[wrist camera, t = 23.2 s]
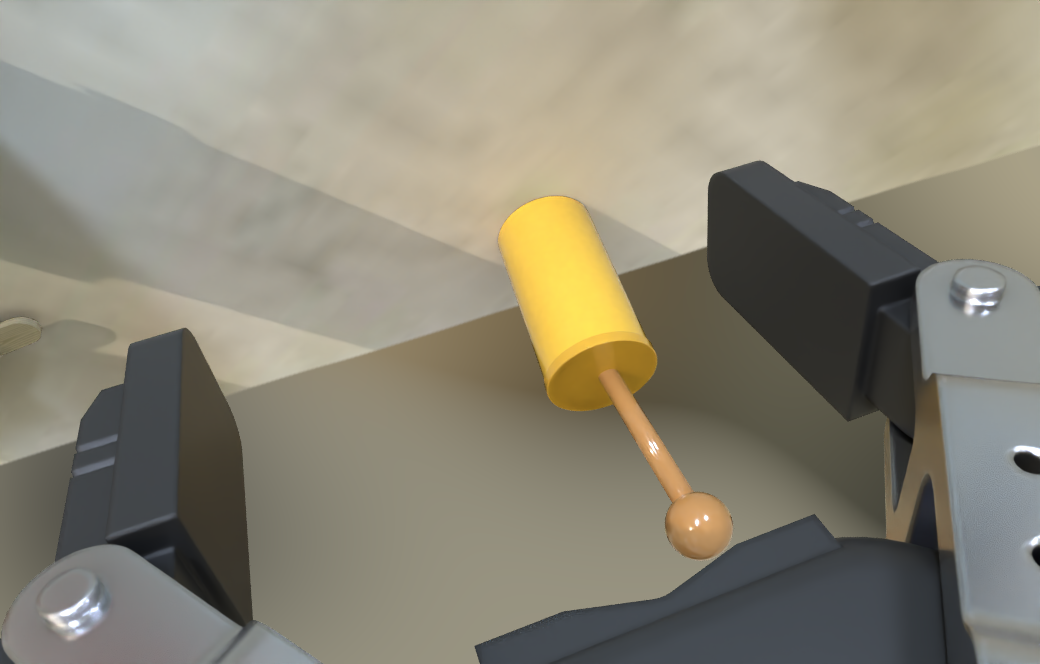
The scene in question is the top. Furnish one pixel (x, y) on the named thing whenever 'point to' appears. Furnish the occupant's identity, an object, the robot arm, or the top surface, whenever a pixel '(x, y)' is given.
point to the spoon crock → (598, 348)
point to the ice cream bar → (18, 333)
